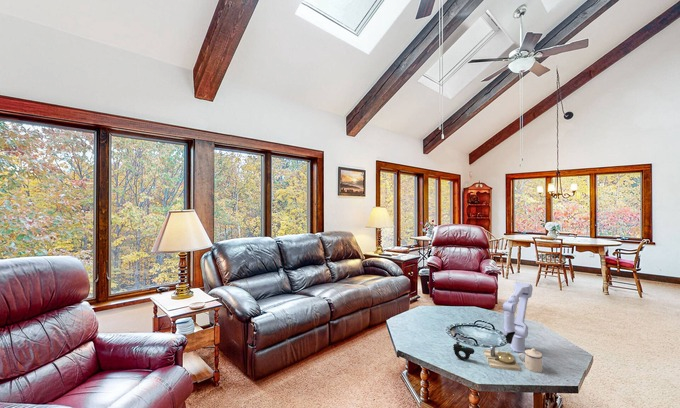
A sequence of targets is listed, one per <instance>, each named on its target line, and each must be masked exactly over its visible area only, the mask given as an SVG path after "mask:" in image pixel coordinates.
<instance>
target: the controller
mask: <svg viewBox="0 0 680 408" xmlns="http://www.w3.org/2000/svg"><path fill="white" fill-rule="evenodd" d="M460 343H461V342H460V341H456V342H455V343H454V344H453V347H452V350H453V352H454V356H456V358H458V359H459V360H461V361H467V360H468V359H470V357H471V355H473V354H475V349H474V348H473V347H468V346H465V345H462V344H460ZM460 352H462V353H464V355H465V356H462V355H461V354H460Z"/></svg>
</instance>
